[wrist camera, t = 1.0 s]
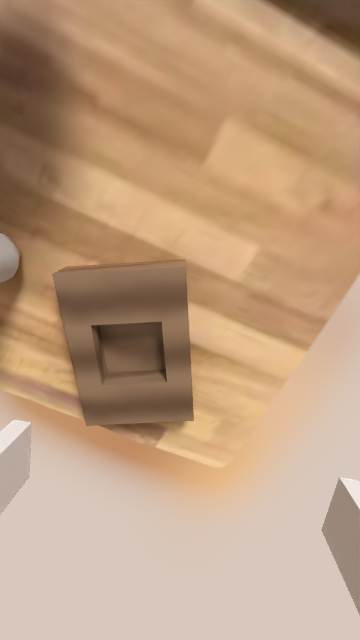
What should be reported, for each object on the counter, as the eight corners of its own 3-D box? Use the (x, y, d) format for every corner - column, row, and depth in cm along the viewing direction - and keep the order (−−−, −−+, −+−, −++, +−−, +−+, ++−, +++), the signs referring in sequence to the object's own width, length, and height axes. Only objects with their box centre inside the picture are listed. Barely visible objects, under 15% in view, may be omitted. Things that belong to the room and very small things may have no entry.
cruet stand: (66, 266, 34) (52, 274, 30) (185, 259, 34) (185, 266, 30) (94, 405, 41) (86, 425, 38) (192, 401, 41) (193, 420, 37)
